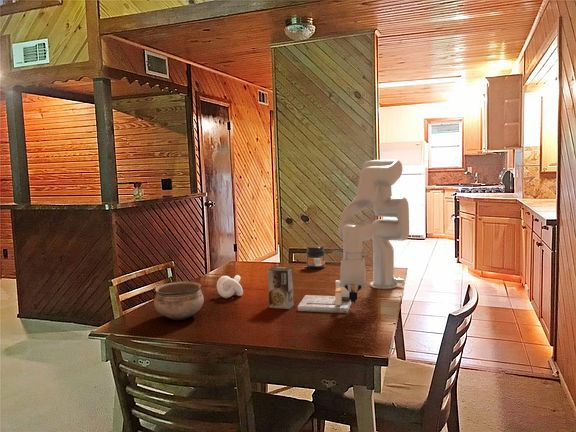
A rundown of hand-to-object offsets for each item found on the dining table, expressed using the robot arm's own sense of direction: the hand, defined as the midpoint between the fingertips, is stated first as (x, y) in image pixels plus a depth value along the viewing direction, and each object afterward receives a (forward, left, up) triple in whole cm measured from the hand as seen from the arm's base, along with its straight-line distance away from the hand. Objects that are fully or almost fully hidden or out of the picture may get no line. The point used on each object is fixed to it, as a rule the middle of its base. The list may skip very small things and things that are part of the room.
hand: (353, 301), depth 189 cm
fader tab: (+6, 0, -1) cm, 6 cm away
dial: (+5, -9, -2) cm, 11 cm away
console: (+12, -4, -4) cm, 13 cm away
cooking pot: (+66, +19, -4) cm, 69 cm away
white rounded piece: (+56, -13, -4) cm, 58 cm away
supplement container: (+29, -75, -4) cm, 81 cm away
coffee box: (+30, -1, -4) cm, 30 cm away
